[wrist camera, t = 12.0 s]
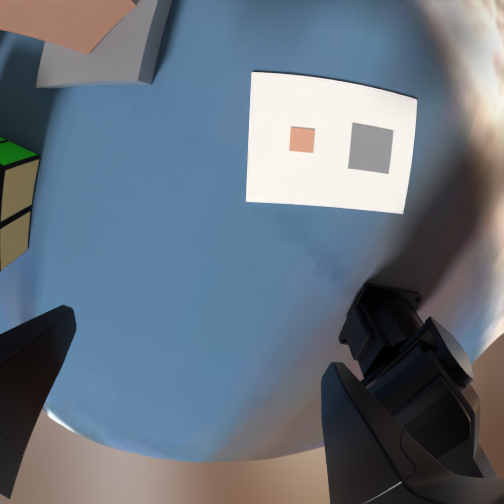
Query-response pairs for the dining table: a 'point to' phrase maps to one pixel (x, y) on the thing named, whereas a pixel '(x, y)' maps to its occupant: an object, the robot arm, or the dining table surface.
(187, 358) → the dining table surface
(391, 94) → the page
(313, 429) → the dining table surface
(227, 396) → the dining table surface
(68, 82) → the base plate
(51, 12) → the tall brick
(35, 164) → the puzzle cube
